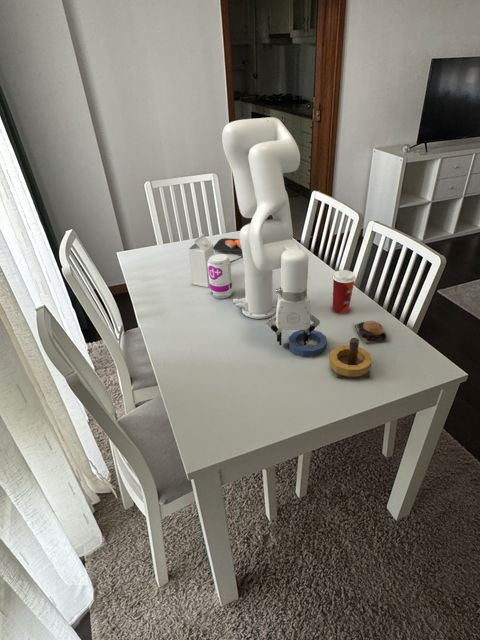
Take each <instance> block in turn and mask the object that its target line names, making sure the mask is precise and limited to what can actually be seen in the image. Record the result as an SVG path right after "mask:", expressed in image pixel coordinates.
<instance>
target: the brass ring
mask: <svg viewBox="0 0 480 640" xmlns="http://www.w3.org/2000/svg"><path fill="white" fill-rule="evenodd" d="M349 347H350V344H342V345H339V346H337V347H333V349H332V350H331V352H330V353H329V357H328V358H329V359H328V362H329V367H330V369H332V370H333V371H334V372H335V373H336V372H337V373H338V374H341V375H344V376H348V377H353V376H361V375H363V374H366V373H368V371H369V372H370V369H371V367H372V363H373V359H372V356H371V353H370V352H369V351H367V350H366V349H365V348H364V347H361V346H358V353H357V358H359V359H360V360H361V361H362V362H363V363H361V364H358V365H347V364H344V363H342V362H340V361H339V360H338V358H340V357H342V356H348V355H349ZM337 373H336V374H337Z"/></svg>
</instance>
